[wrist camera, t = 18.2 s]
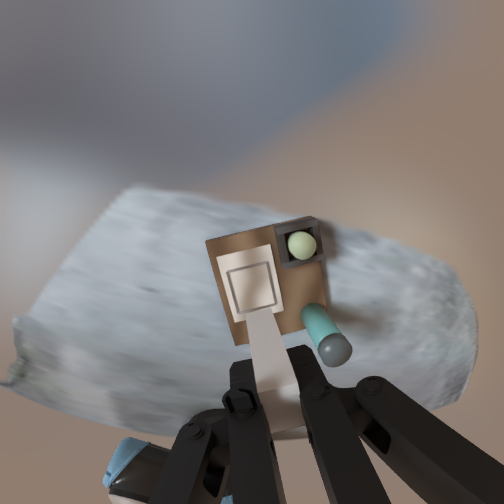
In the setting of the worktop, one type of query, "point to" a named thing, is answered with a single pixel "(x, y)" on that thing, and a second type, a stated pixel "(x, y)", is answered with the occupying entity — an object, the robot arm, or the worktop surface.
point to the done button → (301, 244)
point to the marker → (326, 335)
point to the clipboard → (267, 275)
